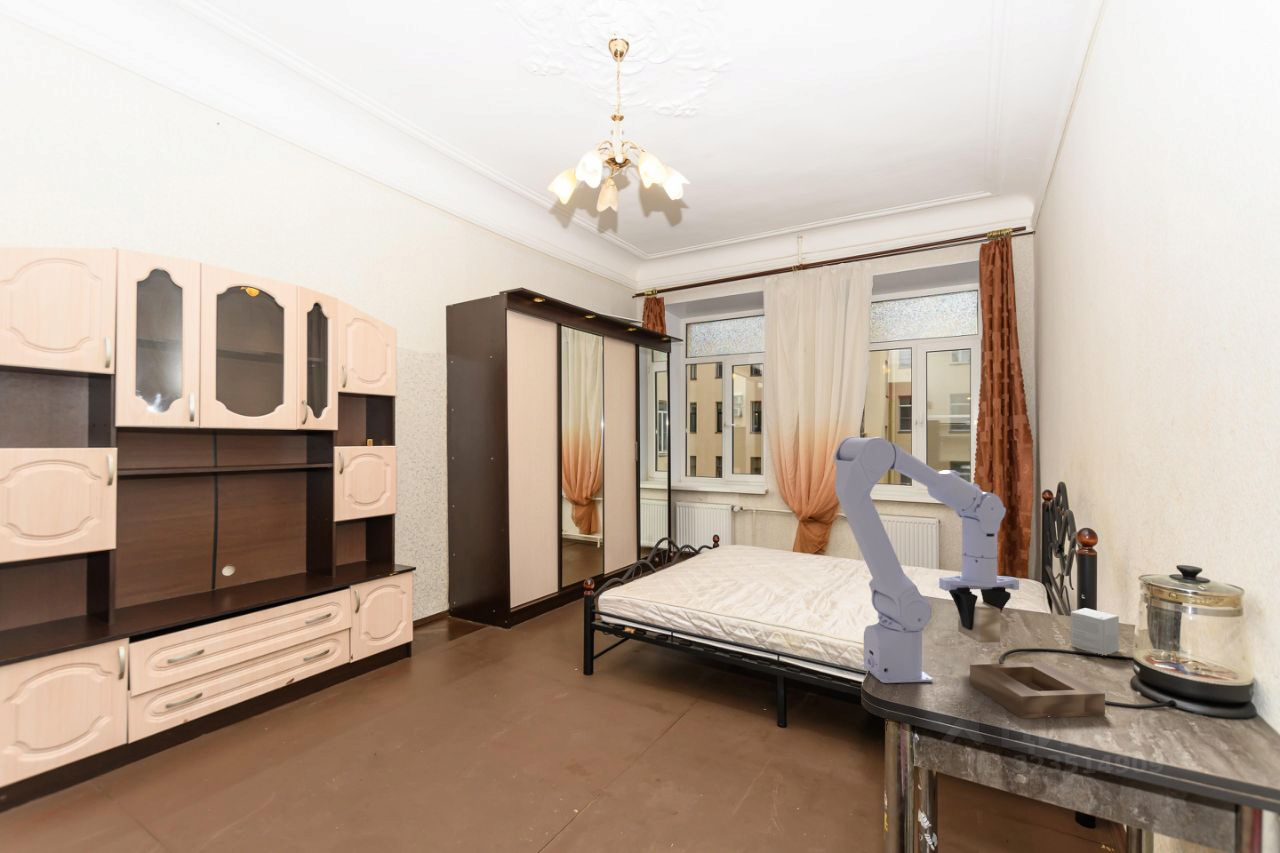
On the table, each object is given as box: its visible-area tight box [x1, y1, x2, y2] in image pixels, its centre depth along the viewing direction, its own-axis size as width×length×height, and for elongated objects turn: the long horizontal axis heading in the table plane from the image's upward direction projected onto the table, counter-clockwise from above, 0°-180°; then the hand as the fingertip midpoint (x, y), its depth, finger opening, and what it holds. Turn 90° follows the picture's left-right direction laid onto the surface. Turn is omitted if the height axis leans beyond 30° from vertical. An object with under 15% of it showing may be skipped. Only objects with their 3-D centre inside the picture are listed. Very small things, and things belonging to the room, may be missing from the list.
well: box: [969, 662, 1106, 719], centre depth 95 cm, size 14×12×3 cm
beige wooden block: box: [957, 599, 1001, 644], centre depth 107 cm, size 4×6×6 cm, turn 5°
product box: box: [1070, 607, 1120, 656], centre depth 117 cm, size 6×6×7 cm
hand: (978, 627), depth 107 cm, fingers closed on beige wooden block, 4 cm apart
